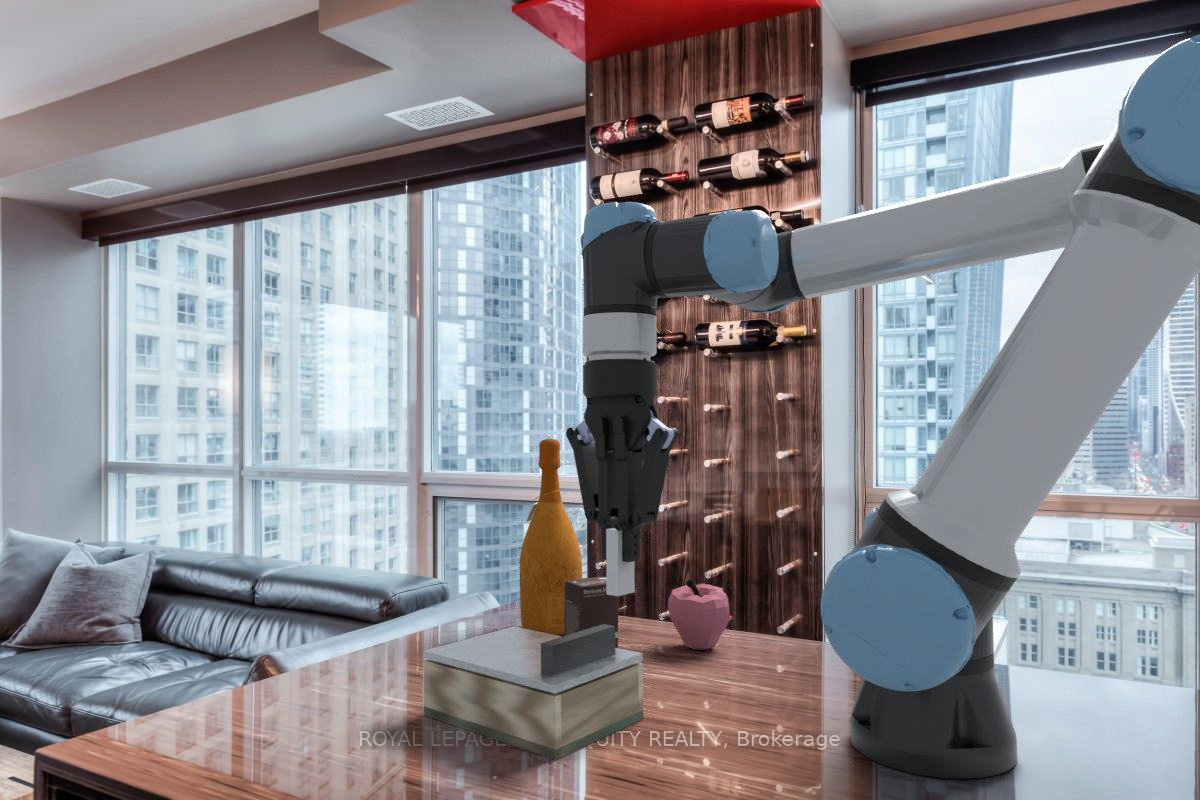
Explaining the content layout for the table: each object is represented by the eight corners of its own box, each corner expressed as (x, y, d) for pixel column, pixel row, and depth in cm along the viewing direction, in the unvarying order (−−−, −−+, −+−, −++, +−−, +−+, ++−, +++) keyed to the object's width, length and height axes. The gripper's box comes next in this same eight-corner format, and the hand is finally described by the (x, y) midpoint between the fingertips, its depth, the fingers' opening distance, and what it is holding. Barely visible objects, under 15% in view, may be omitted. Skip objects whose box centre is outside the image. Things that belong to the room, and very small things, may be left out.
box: (581, 682, 103) (580, 585, 103) (563, 674, 106) (562, 580, 107) (621, 674, 106) (620, 580, 106) (602, 666, 110) (600, 575, 110)
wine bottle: (557, 619, 136) (555, 438, 137) (595, 630, 129) (593, 438, 130) (507, 629, 130) (506, 439, 131) (544, 641, 122) (542, 439, 123)
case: (643, 719, 90) (642, 663, 90) (555, 760, 79) (555, 696, 79) (514, 683, 102) (514, 635, 103) (424, 715, 92) (423, 660, 92)
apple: (733, 657, 113) (731, 583, 114) (670, 656, 114) (668, 584, 114) (725, 638, 123) (724, 571, 123) (667, 639, 123) (666, 571, 124)
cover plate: (642, 660, 90) (642, 625, 90) (555, 693, 79) (554, 653, 79) (514, 632, 103) (513, 602, 103) (423, 658, 92) (423, 623, 92)
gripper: (694, 358, 82) (695, 595, 82) (594, 364, 91) (595, 579, 90) (649, 353, 77) (650, 609, 76) (547, 360, 85) (547, 590, 84)
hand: (620, 592), depth 83 cm, fingers closed
